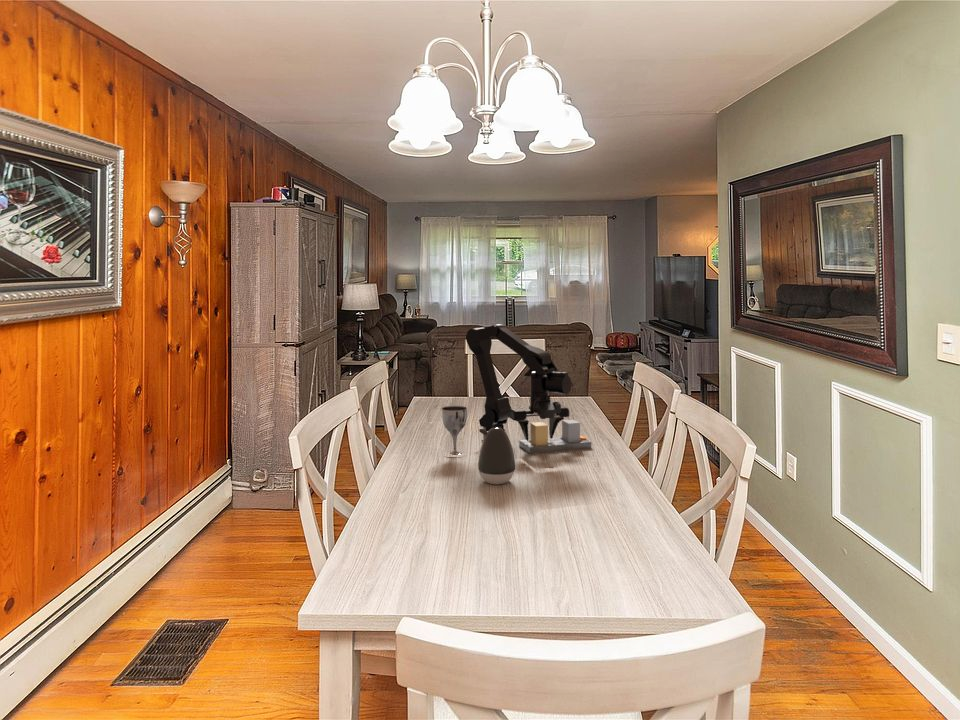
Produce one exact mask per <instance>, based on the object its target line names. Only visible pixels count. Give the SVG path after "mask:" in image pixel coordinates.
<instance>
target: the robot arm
mask: <svg viewBox="0 0 960 720" xmlns="http://www.w3.org/2000/svg"><path fill="white" fill-rule="evenodd" d="M493 339H497V340H498V341H499V342H501V343H502V344H503V345H505V346H506V347H508V348H509V349H511V351H513V352H514V353H515V354H517V355H518V356H520V358H521V359H522V361H523V363H524V365H526V367H527V368H529V369H528V370H527V371H526V372H525V373H524V377H529V384H530V385H529V393H528V397H529V406H528V409H529V410H526V409H523V408H522V407H521V408H519V407H517V408H512V406H511V404H510V399H509V397H508V396H505V397H504V396H503V394H502V393H501V391H500V390H501V389H500V387H499V382H498V378H497V374H496V370H495V365H494V363H493V359H492V355H491V348H492V346H493V345H492V343H493V341H492V340H493ZM465 340H466V343H467V345H468V348H469V350H470V351H471V352H472V353H473V355H474V356H475V358H476V362H477V367H478V369H479V374H480V378H481V381H482V382H481V383H482V386H483V390H484V393H485V403H484V414H483V415H482V417H480V419H479V420H478V422H479V426H480V427H482V429H484V430H486V431H489V430H490V429H492V428H494V427H499V428H502V429H503V430H504V431H505V432H506V429H505V428H504V427H505V426H504V425H505V424H507V422H508V419H509V418H510V419H511V420H513V421H516V422H517V423H518V424H519V427H520V428H521V431H522V433H523V436H524V440H527V441H528V439H529V422H530V421H529V420H528V419H527V418H529V417H538V416H539V418H540V419H542V420H546V419H548V420H549V421H548V436H549V438H551V439H552V438H553V437H554V435H555V432H556V429H557V427H558V425H559V424H560V422H562V420H565V418H568V417H569V418H570V415H571V413H570V409H569V408H568V407H566V406H564V405H563V404H562V403H561V402H560V401H551V395H550V394H551V393H552V394H561V395H567V396H568V395H569V394H570V393H571V390H572V386H573V382H572V380H571V377H570V376H569V372H567V371H563V372H562V371H559V370H558V368H557V366H556V365H555V363H554V362H553V360H552V356H551V353H549V352H548V351H546V350H544V349H542V348H540V347H537V346H533V345H531V344H529V342H527V341H525V340H524V339H522V337H520V336H518V335H517V334H515V333H514V332H512V331H511V330H510V329H509V328H507V327H506V326H505V325H504V324H503V323H498V324H493V325H490V326H486V327H476V328H470V329H468V330H467V332H466V334H465ZM549 393H550V394H549ZM482 435H483V437H482V438H483V439H481V442H482V443H483V440H484V438H485V435H484V434H482Z"/></svg>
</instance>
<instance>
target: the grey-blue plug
mask: <svg viewBox="0 0 960 720" xmlns="http://www.w3.org/2000/svg"><path fill="white" fill-rule="evenodd" d="M580 436H581V422H579V421H578V420H576V419H564V420H561V437H562V440H563V441H565V442H567V443H571V442H580Z"/></svg>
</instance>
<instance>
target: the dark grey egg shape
mask: <svg viewBox="0 0 960 720" xmlns="http://www.w3.org/2000/svg"><path fill="white" fill-rule="evenodd" d="M478 432H479V433H480V434H482V435H483V434H484V435H485V438H484V440H483V439H482V440H483V442H482V444H481V447H480V451H479V455H478V464H477V469H478V471H479V475H480V477H481V478H482V480H484V482H486V483H488V484H491V485H503V484H507V483H508V482H509V481H510V480H511V479H512V478H513V476H514V472H515V470H516V460H515V459H516V458H515V454H514V449H513V445H512V443H511V440H510V438H509V435H508V434H507V432H506V430H505V431H504V430H503V429H502V428H499V427H494V428H492V429H490V430H489V431H486V430H484V429H483V427H482V428H479V430H478Z"/></svg>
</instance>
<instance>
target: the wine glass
mask: <svg viewBox="0 0 960 720" xmlns="http://www.w3.org/2000/svg"><path fill="white" fill-rule="evenodd" d="M467 417H468V408H467V407H466V406H464V405H447V406H443V407H442V408H441V418H442V419H441V420H442V424H443V426H444V428H445V429H446V430H447V431H448V432H449V434H450V435H451V437H452V442H453V451H449V452H450V454H452V455H461V454H462V453H461V452H462V451H458V450H457V440H458V436H459V434H460V433H461V432H462V431H463V429H464V428H465V426H466V422H467Z"/></svg>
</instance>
